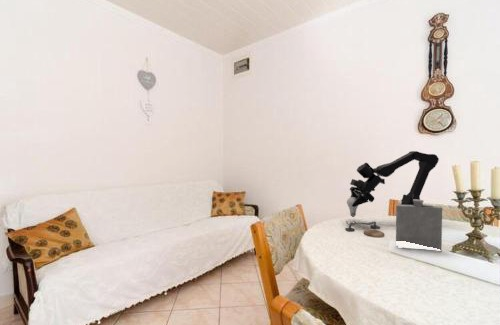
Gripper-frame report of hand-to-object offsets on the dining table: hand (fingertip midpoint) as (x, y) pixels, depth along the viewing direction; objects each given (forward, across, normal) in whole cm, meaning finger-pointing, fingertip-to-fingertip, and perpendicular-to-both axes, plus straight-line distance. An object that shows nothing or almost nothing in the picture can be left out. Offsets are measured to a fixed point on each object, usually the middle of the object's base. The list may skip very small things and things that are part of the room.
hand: (350, 205), depth 135 cm
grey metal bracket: (+6, +8, +10) cm, 14 cm away
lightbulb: (+4, 0, +6) cm, 7 cm away
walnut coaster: (+4, +16, +11) cm, 20 cm away
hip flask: (-2, +33, +18) cm, 38 cm away
